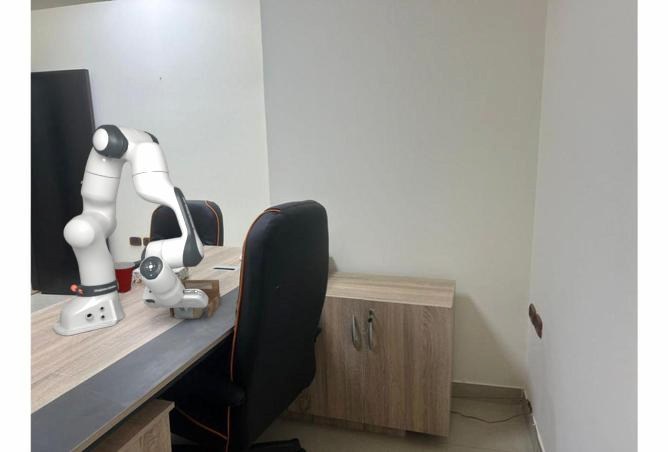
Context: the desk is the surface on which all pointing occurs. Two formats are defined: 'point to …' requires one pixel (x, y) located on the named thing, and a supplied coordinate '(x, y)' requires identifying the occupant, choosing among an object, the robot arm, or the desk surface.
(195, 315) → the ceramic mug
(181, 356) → the desk surface
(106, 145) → the robot arm
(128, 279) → the plastic cup
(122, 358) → the desk surface
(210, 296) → the display bay
